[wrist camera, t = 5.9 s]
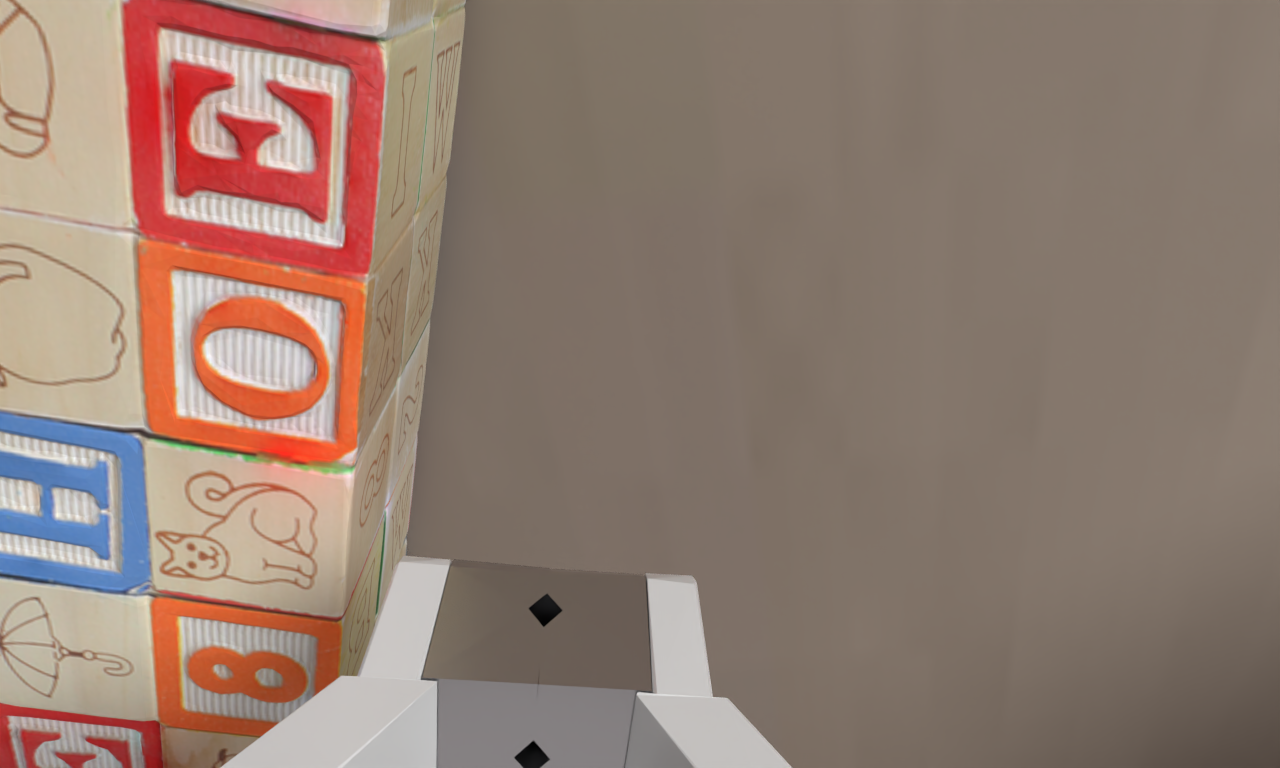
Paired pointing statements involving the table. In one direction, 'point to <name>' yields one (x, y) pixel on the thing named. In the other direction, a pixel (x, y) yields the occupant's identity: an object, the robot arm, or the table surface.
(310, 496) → the stack of blocks
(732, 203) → the table surface
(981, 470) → the table surface
